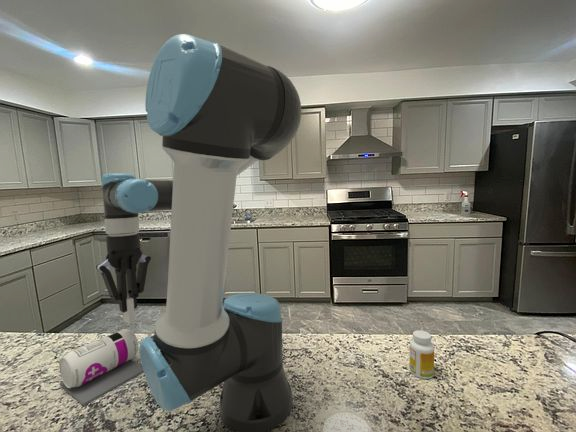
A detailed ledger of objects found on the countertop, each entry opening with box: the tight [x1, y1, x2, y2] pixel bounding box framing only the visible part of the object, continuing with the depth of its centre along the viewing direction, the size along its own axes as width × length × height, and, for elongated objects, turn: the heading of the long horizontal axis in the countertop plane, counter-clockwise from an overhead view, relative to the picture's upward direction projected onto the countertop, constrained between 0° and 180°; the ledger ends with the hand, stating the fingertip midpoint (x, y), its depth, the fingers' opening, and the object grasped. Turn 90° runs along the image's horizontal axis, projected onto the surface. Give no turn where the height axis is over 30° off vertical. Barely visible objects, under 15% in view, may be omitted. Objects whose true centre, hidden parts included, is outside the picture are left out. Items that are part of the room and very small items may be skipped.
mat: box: [59, 359, 144, 407], centre depth 68 cm, size 13×14×1 cm
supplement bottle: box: [409, 330, 435, 380], centre depth 67 cm, size 5×5×10 cm
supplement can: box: [58, 328, 139, 388], centre depth 70 cm, size 8×8×15 cm
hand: (129, 321), depth 73 cm, fingers closed
